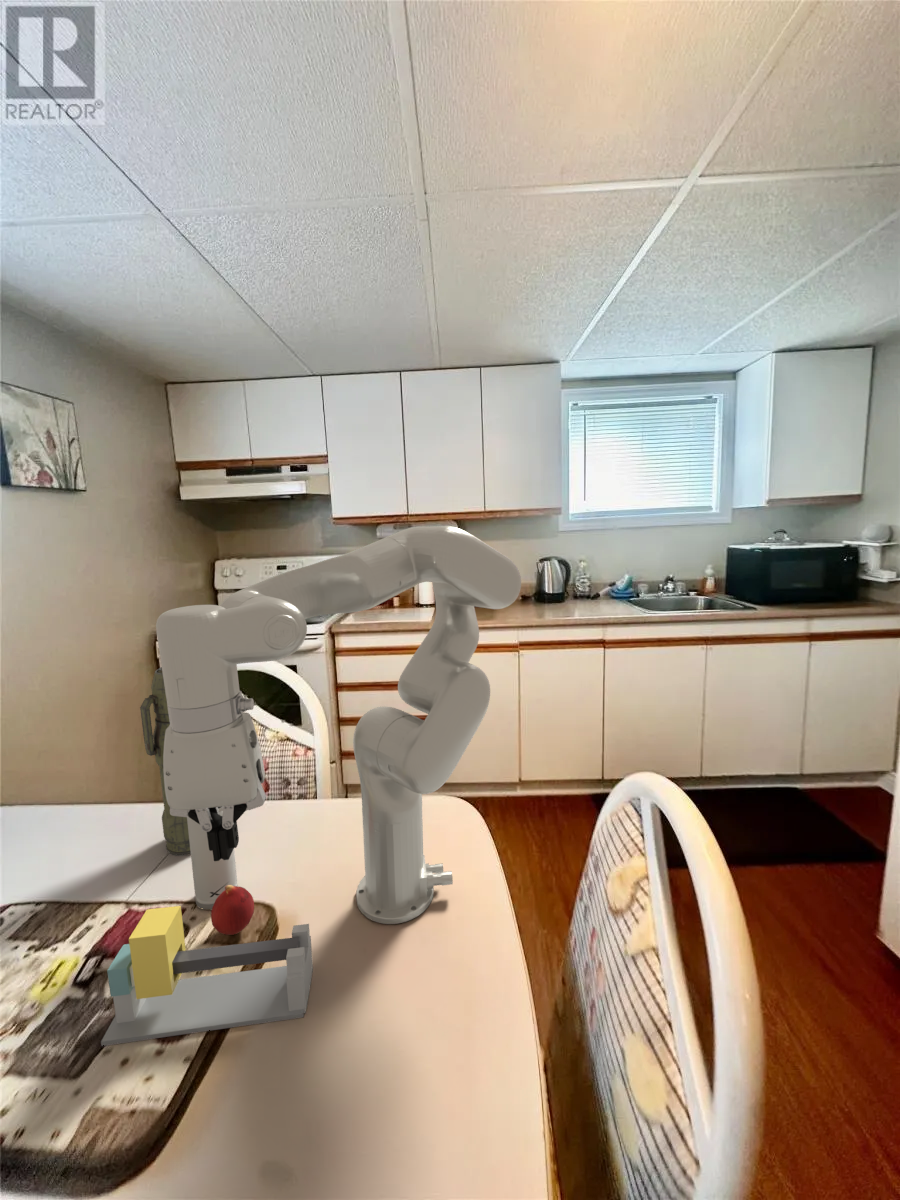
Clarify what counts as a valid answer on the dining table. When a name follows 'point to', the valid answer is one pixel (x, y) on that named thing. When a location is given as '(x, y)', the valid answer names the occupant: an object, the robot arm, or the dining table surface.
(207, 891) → the travel mug
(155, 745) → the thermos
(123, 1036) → the grey long frame
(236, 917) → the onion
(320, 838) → the dining table surface
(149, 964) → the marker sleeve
